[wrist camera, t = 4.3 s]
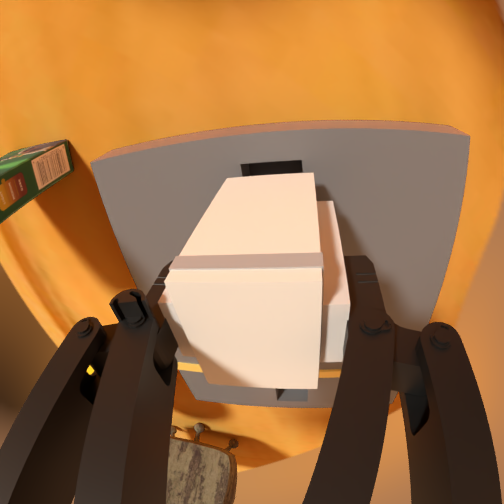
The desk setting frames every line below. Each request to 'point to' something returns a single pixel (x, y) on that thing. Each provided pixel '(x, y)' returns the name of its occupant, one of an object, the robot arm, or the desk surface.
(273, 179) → the fader knob
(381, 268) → the fader console
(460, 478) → the robot arm
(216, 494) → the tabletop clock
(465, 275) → the desk surface
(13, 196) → the coffee box
